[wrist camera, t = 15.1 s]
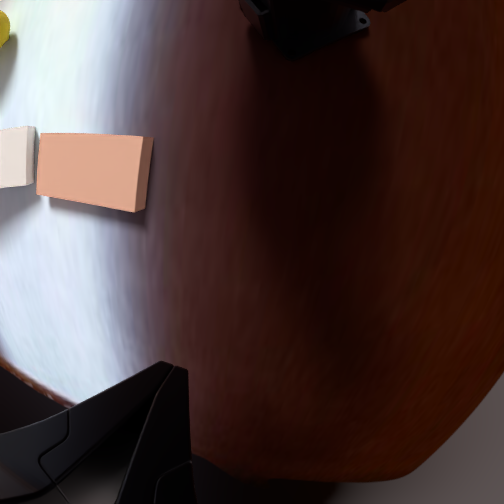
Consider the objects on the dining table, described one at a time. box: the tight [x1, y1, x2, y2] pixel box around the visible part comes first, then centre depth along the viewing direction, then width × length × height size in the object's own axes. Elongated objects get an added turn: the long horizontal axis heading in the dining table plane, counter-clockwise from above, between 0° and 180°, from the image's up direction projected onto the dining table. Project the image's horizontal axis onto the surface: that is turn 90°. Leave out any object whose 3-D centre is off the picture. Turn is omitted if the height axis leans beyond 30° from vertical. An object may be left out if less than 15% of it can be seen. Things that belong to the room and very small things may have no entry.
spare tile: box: [36, 133, 154, 212], centre depth 19 cm, size 2×5×10 cm
